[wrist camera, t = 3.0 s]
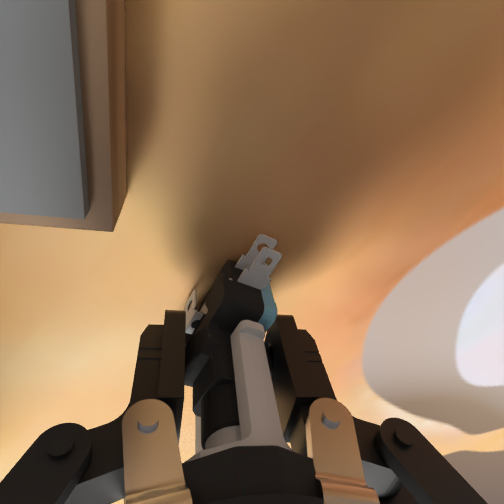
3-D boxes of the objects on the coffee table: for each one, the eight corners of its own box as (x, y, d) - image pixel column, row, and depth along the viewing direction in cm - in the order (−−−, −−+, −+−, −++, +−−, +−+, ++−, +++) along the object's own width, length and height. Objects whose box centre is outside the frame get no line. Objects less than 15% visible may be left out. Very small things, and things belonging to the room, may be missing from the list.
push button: (204, 202, 13) (217, 533, 5) (325, 253, 15) (485, 555, 7) (138, 331, 16) (78, 677, 8) (247, 360, 18) (293, 665, 10)
